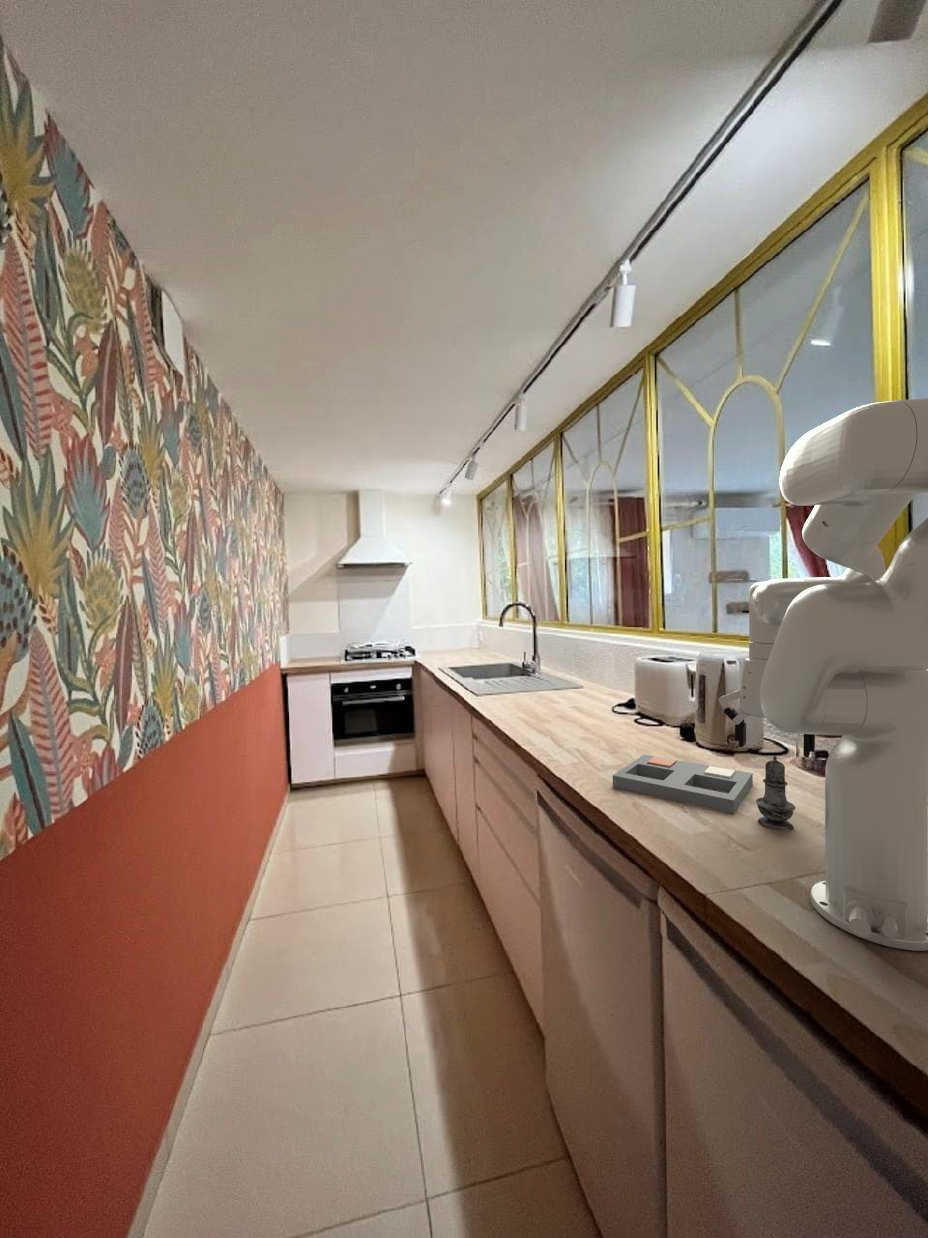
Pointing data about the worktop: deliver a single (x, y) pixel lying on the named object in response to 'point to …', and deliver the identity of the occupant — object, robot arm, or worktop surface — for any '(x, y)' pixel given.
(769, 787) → the salt shaker
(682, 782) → the socket board
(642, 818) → the worktop surface
